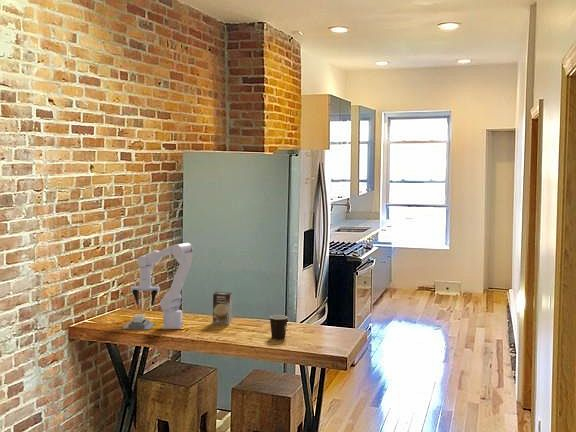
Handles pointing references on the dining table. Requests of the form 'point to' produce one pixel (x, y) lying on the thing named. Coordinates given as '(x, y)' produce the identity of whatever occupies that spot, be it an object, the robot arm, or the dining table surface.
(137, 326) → the slot holder
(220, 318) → the coffee box
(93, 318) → the dining table surface
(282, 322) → the coffee mug
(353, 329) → the dining table surface
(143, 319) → the steel block
